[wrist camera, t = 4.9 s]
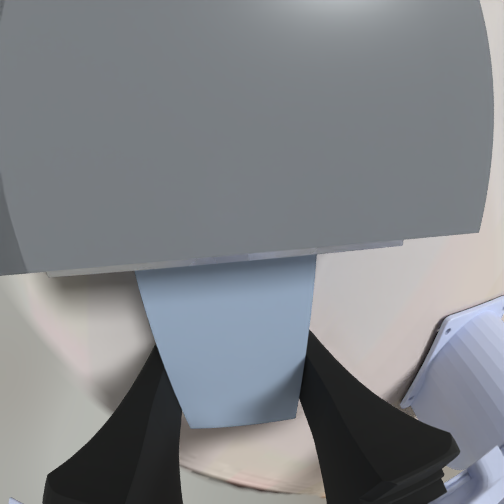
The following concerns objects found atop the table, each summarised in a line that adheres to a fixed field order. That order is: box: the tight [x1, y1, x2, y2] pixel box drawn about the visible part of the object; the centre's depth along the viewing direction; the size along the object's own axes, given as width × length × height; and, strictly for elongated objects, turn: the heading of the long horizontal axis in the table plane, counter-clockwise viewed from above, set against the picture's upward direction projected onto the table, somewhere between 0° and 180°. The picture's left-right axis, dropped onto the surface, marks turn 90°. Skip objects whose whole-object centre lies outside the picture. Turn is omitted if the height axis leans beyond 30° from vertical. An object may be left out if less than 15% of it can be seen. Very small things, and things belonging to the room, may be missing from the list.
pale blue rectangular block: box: [135, 254, 317, 429], centre depth 8 cm, size 15×4×3 cm, turn 2°
